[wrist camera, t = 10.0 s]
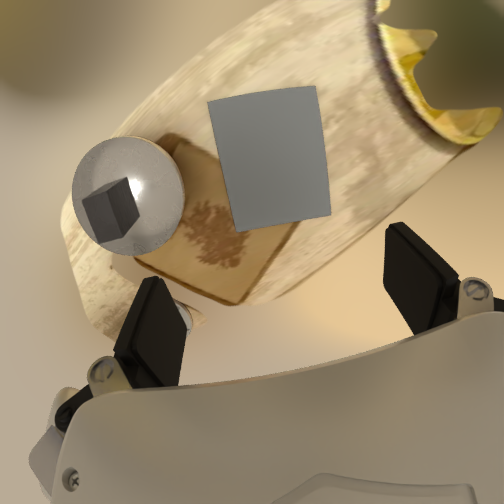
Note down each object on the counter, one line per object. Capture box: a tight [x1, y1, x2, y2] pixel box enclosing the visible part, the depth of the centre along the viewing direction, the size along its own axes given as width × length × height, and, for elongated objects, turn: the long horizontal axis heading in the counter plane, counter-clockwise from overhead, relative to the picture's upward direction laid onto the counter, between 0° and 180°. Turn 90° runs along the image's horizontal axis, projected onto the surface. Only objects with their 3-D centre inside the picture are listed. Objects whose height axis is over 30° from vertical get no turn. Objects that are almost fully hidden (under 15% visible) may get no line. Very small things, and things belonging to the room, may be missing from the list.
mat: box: [207, 86, 331, 232], centre depth 37 cm, size 20×15×1 cm
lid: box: [72, 136, 185, 256], centre depth 23 cm, size 13×13×6 cm
